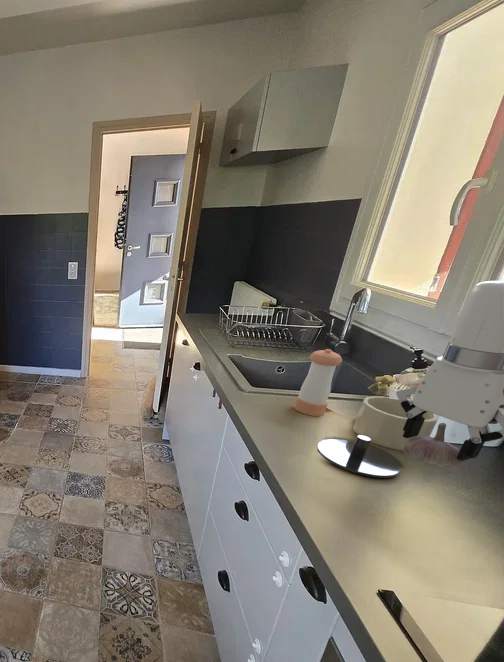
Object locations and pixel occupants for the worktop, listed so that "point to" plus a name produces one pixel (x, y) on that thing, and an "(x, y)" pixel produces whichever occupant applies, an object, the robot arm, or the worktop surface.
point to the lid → (358, 457)
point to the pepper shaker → (317, 383)
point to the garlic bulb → (434, 450)
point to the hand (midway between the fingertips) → (435, 446)
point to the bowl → (388, 422)
